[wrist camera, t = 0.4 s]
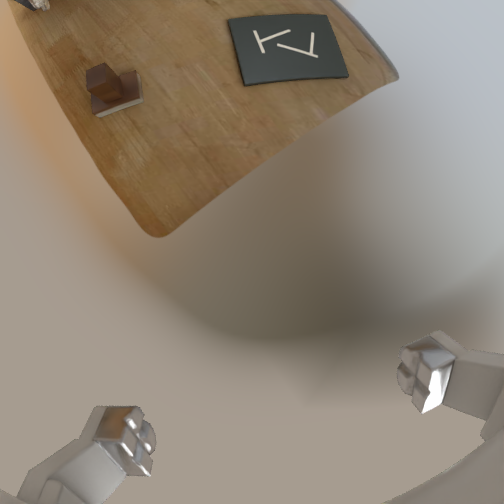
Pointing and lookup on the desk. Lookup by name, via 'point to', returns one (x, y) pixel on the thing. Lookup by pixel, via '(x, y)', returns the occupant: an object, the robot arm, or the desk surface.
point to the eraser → (112, 90)
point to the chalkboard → (286, 48)
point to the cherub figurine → (35, 4)
